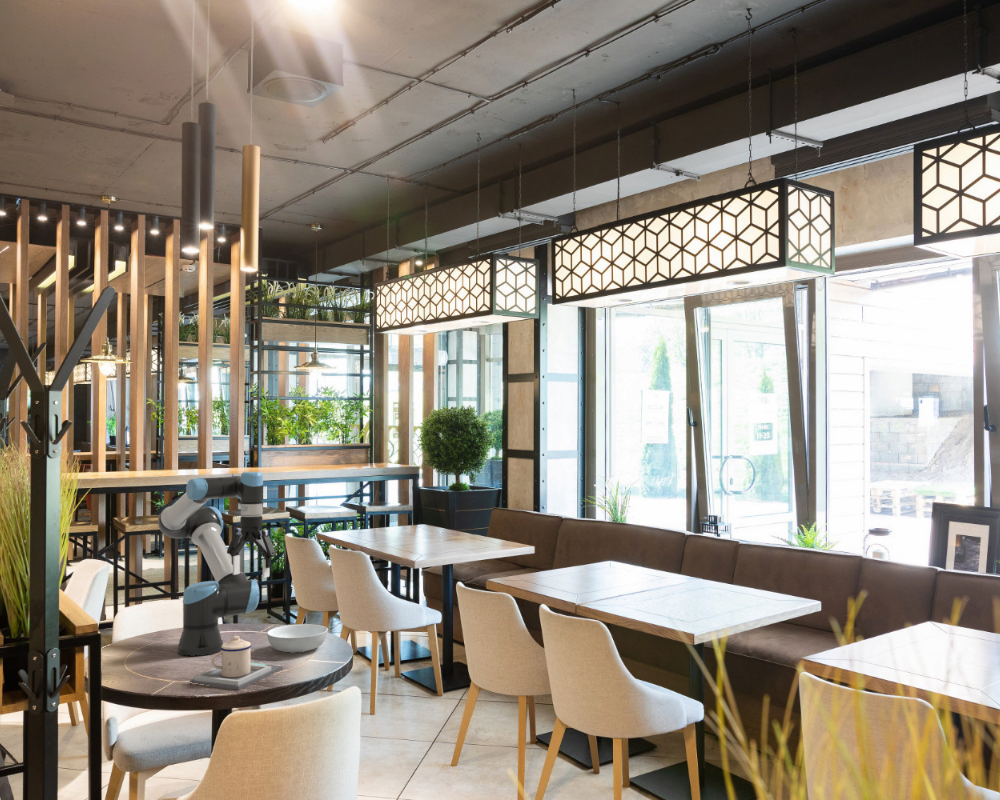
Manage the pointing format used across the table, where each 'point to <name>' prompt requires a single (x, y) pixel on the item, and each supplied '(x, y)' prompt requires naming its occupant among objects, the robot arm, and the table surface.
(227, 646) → the teacup with lid
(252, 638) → the table surface
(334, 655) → the table surface
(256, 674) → the base
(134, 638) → the table surface
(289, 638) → the serving bowl
